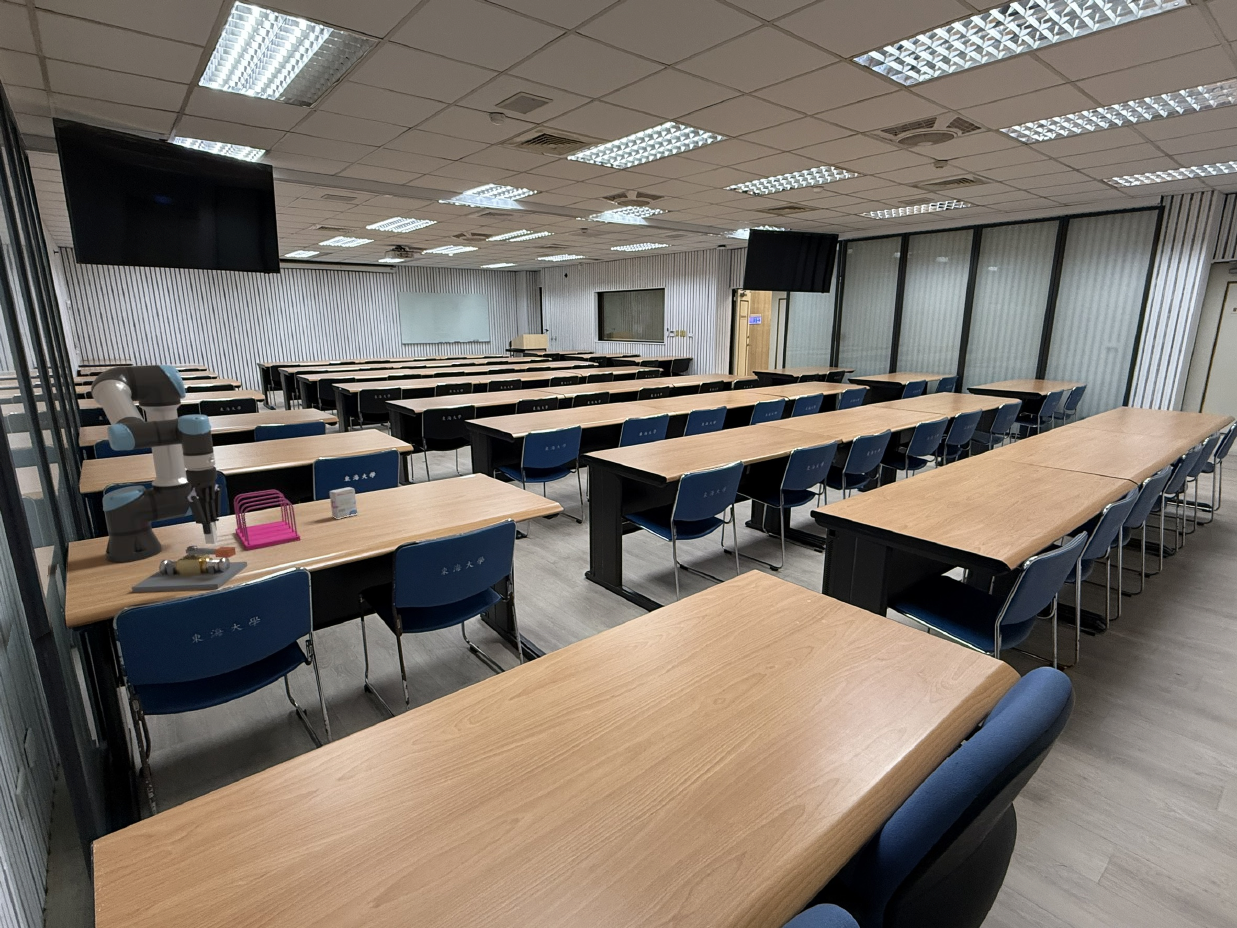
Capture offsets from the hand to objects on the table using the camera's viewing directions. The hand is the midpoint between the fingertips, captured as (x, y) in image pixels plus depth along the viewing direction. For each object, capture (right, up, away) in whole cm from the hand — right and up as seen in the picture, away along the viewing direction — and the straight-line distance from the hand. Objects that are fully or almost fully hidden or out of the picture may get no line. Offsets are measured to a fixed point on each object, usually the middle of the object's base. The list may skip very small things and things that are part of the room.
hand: (211, 542), depth 183 cm
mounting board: (-10, -12, +6) cm, 17 cm away
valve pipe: (-11, -12, +8) cm, 18 cm away
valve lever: (-5, -5, +6) cm, 9 cm away
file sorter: (-9, -4, +45) cm, 46 cm away
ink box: (+9, +2, +69) cm, 70 cm away
